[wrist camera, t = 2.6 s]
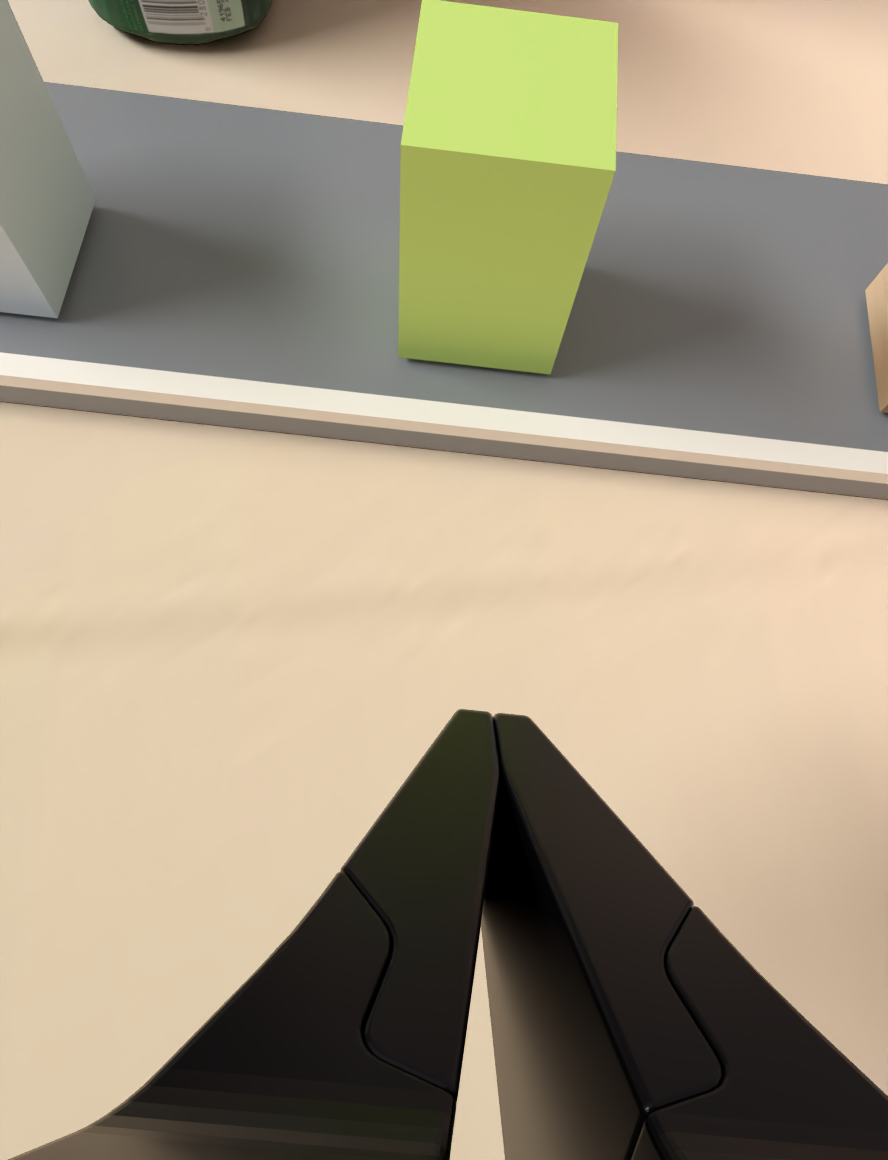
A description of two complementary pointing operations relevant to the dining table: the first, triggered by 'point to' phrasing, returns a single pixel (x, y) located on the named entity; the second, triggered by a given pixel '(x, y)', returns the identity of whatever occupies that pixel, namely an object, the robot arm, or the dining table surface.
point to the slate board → (446, 390)
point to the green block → (501, 180)
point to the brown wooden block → (879, 332)
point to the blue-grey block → (35, 186)
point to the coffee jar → (182, 18)
